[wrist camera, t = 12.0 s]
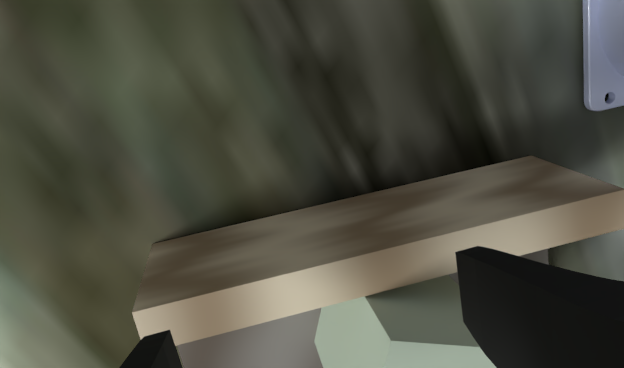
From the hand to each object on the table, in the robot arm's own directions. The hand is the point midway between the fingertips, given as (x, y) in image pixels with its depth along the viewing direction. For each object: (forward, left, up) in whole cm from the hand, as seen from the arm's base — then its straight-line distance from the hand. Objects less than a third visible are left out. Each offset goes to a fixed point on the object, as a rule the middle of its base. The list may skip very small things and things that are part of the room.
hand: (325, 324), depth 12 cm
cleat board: (-3, +6, -9) cm, 12 cm away
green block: (-3, +5, -8) cm, 10 cm away
